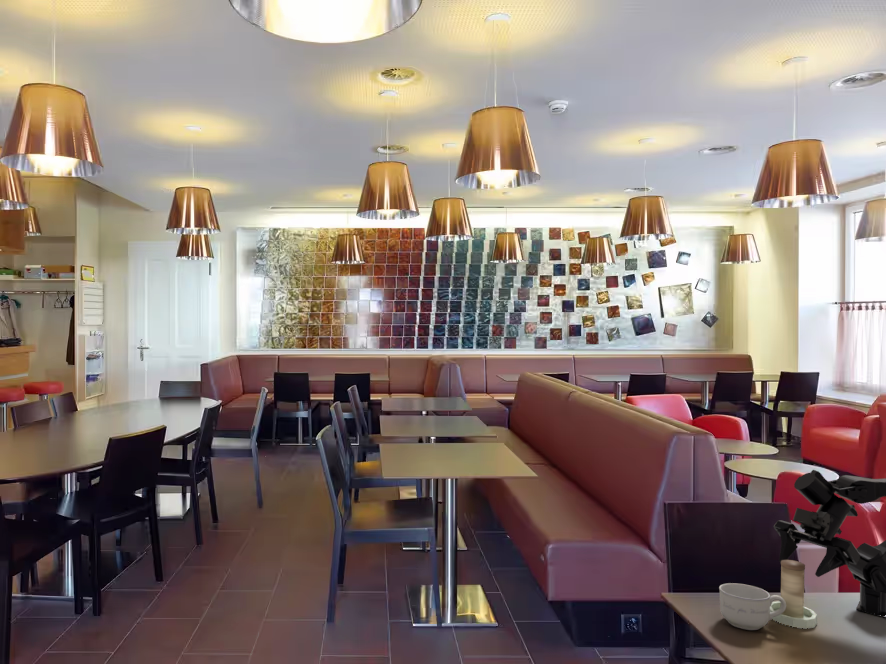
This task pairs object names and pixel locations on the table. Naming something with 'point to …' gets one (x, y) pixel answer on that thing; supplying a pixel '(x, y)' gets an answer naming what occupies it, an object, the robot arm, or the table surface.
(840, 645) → the table surface
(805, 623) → the bowl
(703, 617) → the table surface
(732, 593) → the teacup
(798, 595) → the canister
